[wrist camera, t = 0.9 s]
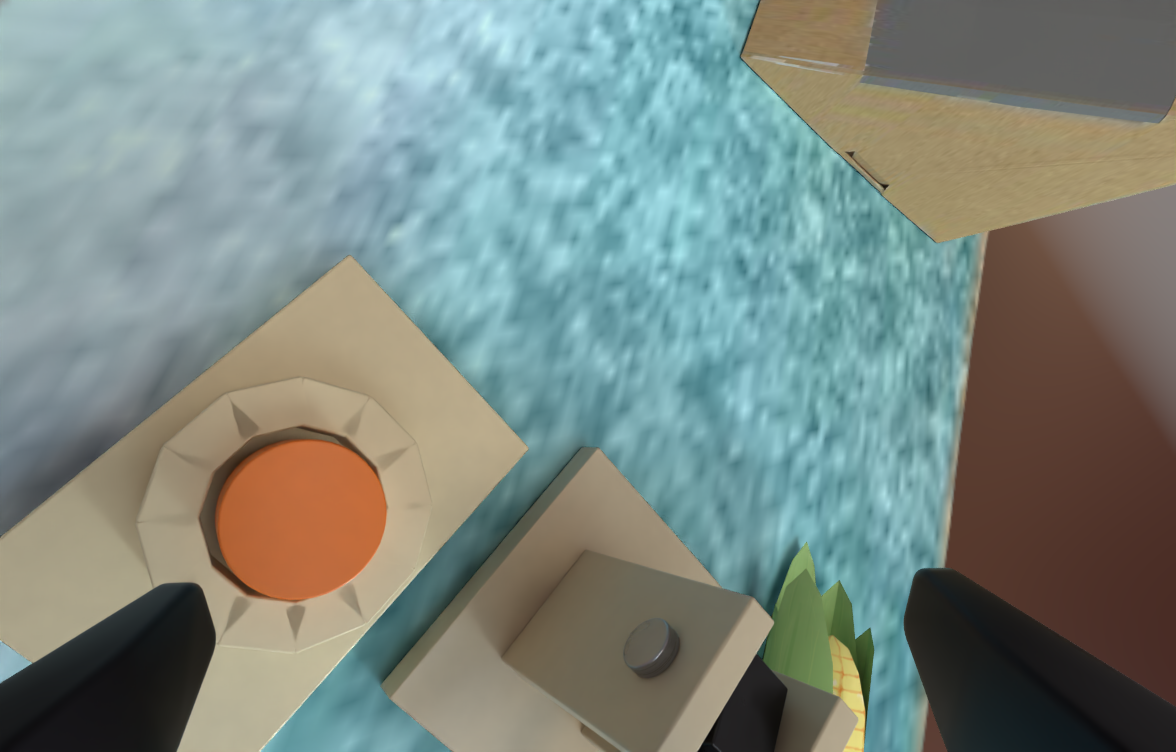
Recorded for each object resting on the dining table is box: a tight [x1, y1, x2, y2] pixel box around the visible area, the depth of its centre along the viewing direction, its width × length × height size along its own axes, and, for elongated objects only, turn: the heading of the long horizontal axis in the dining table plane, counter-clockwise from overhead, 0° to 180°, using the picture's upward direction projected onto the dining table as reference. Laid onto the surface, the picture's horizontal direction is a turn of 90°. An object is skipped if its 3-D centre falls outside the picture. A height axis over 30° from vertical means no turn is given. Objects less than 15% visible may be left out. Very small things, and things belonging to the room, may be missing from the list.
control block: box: [0, 255, 529, 752], centre depth 18 cm, size 12×8×4 cm, turn 135°
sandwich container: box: [741, 0, 1176, 243], centre depth 28 cm, size 9×15×15 cm, turn 64°
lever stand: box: [381, 447, 858, 752], centre depth 20 cm, size 10×9×9 cm
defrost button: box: [215, 439, 387, 600], centre depth 16 cm, size 4×4×2 cm
